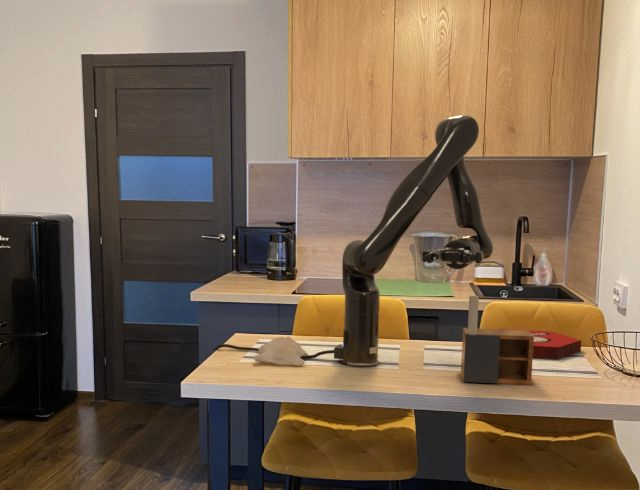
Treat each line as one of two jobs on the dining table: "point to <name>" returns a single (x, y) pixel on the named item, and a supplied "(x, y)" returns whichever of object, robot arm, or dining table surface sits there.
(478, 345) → the sliding door
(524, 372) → the cupboard
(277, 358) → the arrowhead
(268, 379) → the dining table surface
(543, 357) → the plaque
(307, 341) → the dining table surface
